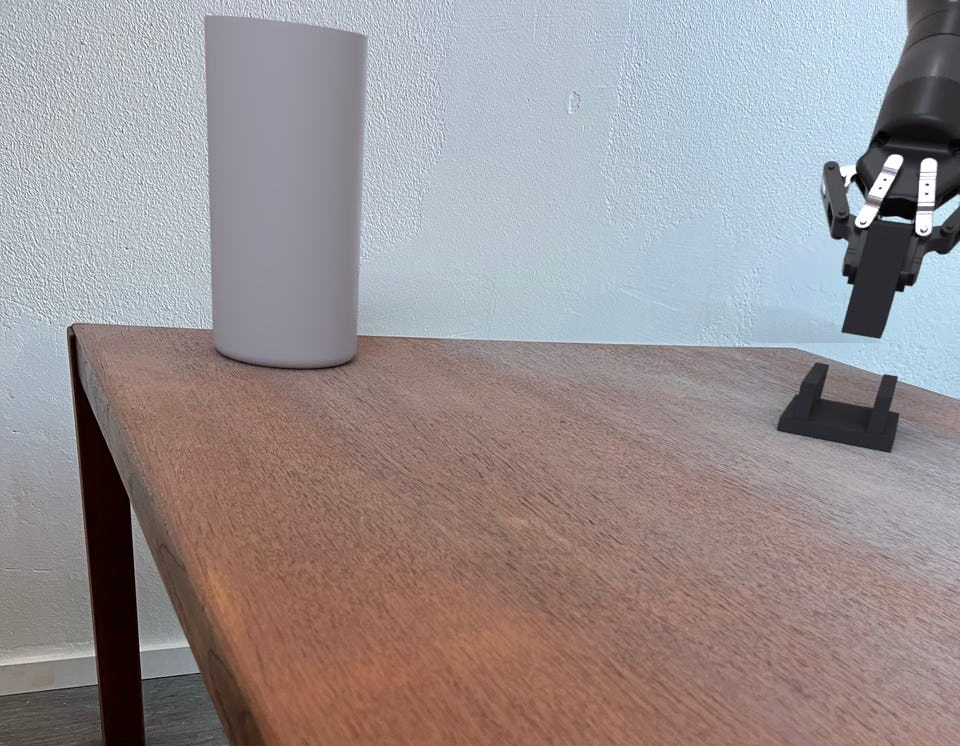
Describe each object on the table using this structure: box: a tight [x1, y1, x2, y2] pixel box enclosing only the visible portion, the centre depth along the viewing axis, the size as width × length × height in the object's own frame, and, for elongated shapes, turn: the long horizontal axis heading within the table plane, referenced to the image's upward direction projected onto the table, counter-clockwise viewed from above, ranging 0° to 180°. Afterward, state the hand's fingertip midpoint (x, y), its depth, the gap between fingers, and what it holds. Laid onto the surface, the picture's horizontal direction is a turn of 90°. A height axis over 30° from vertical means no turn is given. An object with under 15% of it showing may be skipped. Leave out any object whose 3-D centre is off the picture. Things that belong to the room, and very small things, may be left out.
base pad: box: [776, 362, 901, 453], centre depth 83 cm, size 10×9×4 cm
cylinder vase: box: [203, 14, 369, 369], centre depth 82 cm, size 12×12×25 cm
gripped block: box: [841, 219, 914, 340], centre depth 78 cm, size 8×3×8 cm, turn 157°
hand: (877, 280), depth 77 cm, fingers closed on gripped block, 3 cm apart
